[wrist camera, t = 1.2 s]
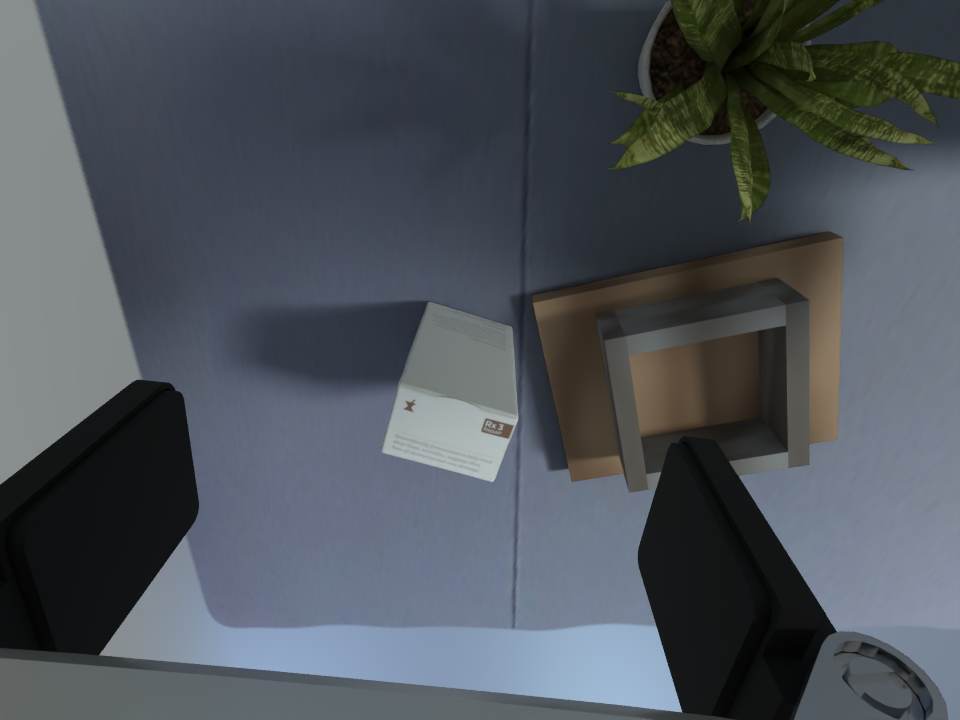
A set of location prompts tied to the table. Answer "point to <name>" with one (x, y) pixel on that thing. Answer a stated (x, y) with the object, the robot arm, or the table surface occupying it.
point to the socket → (698, 360)
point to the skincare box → (456, 395)
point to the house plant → (771, 84)
